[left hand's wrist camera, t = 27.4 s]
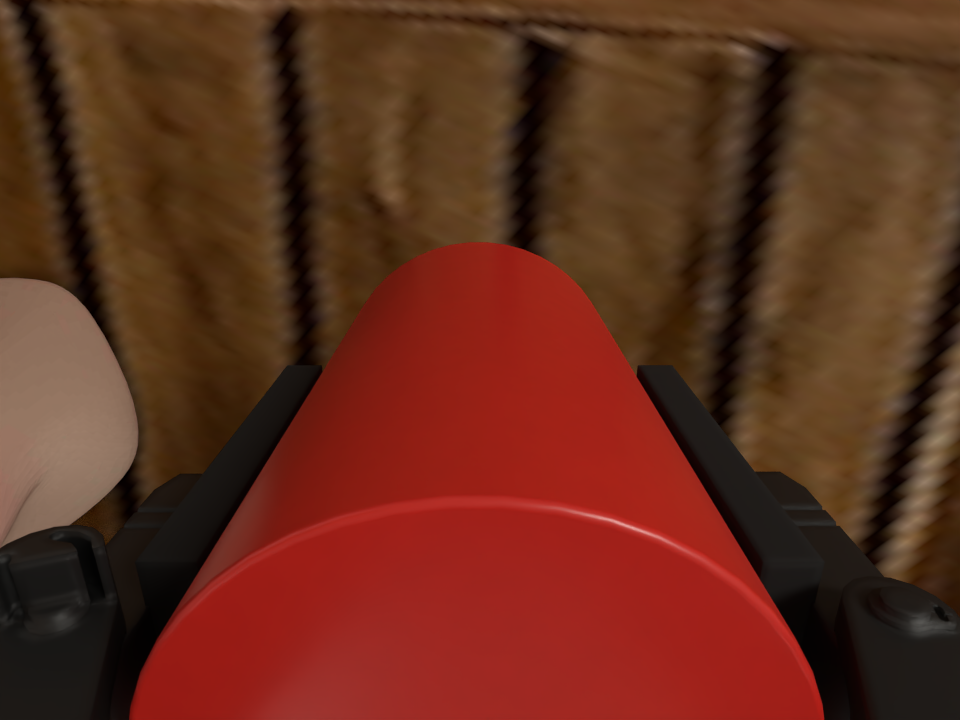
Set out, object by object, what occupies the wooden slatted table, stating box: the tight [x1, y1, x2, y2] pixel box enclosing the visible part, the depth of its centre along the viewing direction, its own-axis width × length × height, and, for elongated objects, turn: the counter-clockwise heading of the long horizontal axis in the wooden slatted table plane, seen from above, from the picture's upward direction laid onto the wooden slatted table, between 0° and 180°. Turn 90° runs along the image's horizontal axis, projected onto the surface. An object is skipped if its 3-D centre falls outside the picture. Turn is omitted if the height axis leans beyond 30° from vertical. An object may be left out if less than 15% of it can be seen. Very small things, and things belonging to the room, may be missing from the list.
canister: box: [129, 242, 824, 720], centre depth 11 cm, size 7×7×11 cm
